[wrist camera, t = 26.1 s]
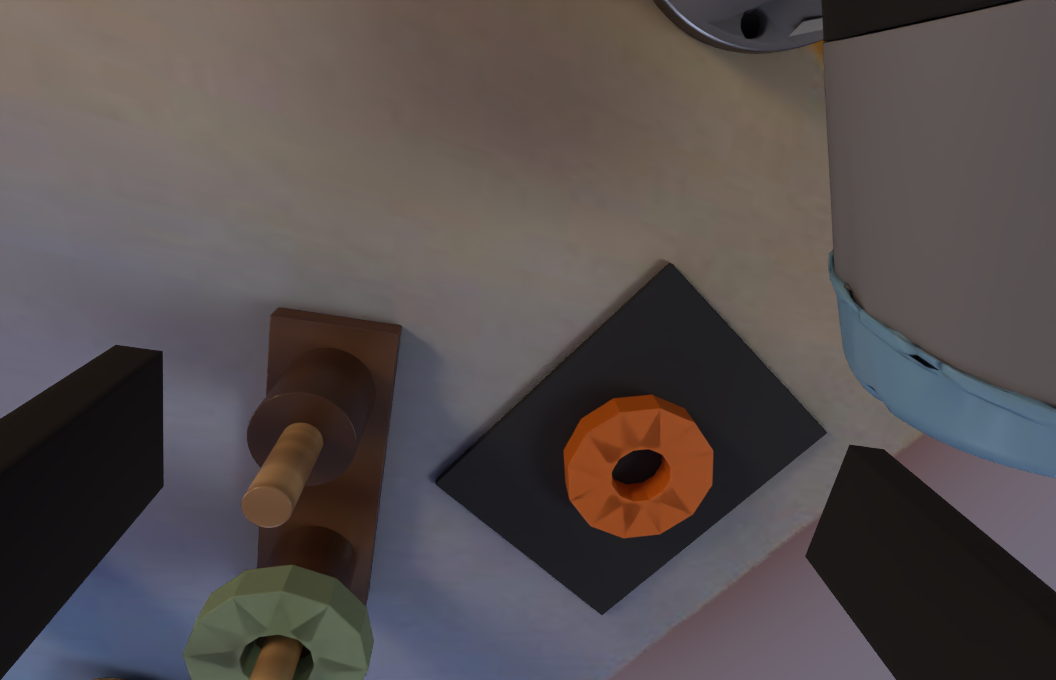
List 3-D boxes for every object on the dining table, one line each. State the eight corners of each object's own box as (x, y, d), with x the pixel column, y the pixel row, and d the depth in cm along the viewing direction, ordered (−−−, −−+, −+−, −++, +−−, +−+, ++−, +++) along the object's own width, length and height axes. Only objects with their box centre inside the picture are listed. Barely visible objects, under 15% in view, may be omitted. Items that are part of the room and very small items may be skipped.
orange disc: (658, 368, 38) (668, 382, 36) (726, 471, 41) (738, 488, 39) (537, 446, 39) (539, 463, 38) (610, 540, 42) (617, 560, 41)
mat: (669, 261, 37) (672, 263, 36) (823, 429, 41) (827, 432, 41) (435, 479, 40) (434, 483, 40) (600, 610, 45) (601, 615, 45)
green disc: (295, 536, 32) (283, 563, 30) (404, 642, 35) (400, 672, 33) (165, 622, 33) (146, 653, 32) (281, 718, 36) (270, 751, 34)
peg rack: (278, 307, 36) (174, 408, 24) (401, 325, 37) (364, 431, 24) (262, 588, 42) (174, 781, 30) (368, 597, 43) (324, 789, 31)
